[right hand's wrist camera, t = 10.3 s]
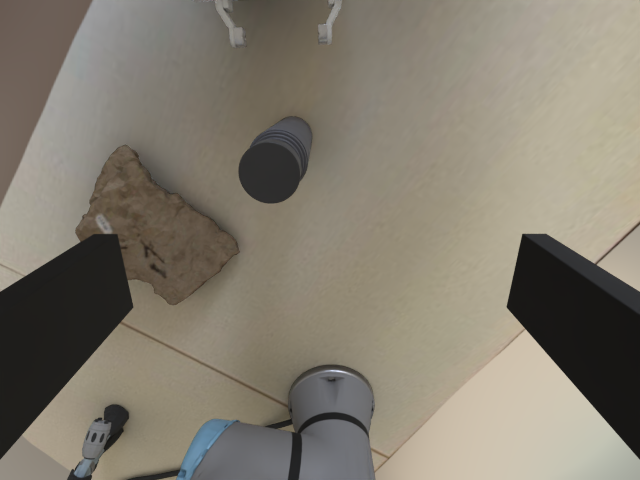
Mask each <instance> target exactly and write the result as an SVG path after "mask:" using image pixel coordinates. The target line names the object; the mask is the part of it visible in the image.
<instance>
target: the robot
mask: <svg viewBox="0 0 640 480" xmlns="http://www.w3.org/2000/svg"><path fill="white" fill-rule="evenodd" d="M128 419H129V414H128V412H127V411H126V410H125V409H124V408H122V407H121V406H118V405H110V406H108V407H106V408H105V411H104V420H102V418H98V419H95V420H94V421H93V423H92V424H91V426H90V428H89V430H88V432H87V435H86V437H85V440H84V444H83V448H82V455H83V457H84V459H83V460H82V461H81V462H79V464H78V465H77V466H76V468H75V471H74V469H72V470H71V473H70V475H69V477H68V479H67V480H91V478H92V475H91V474H92V473H93V471H94V470H95V469H96V467H97V464H98V461H99V458H100V457H101V455H102V454H103V453H104V452H105V451H106V450H108V449H109V448H110V447H111V446H112V445H113V444H114V443H115V442H116V441H117V440H118V438H119V437H120V435H121V434H122V432H123V429H122V427H123V426H124V424H125V423H126V421H127V420H128Z"/></svg>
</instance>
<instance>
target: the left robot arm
mask: <svg viewBox="0 0 640 480" xmlns="http://www.w3.org/2000/svg"><path fill="white" fill-rule="evenodd" d="M192 1H194V2H211V1H215V8H216V10H217V12H218V13H219V15H220V17H221V18H222V20H223V21H224V23H225V24H226V26H227V27H228V28H229V36H230V44H231V47H233V48H241V47H247V43H246V40H245V37H246V32H245V29H243V27H236V26H235V24H234V22H233V21H232V19H231V17H230V16H229V14H228V12H233V5H232V1H236V0H192ZM341 5H342V0H328V8H332V10H331V13H330V15H329V17H328V19H327V21H326V24H318V34H319V36H318V42H319V44H332V26H333V24H334V22H335V19H336V17H337V15H338V13H339V11H340V9H341Z"/></svg>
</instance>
